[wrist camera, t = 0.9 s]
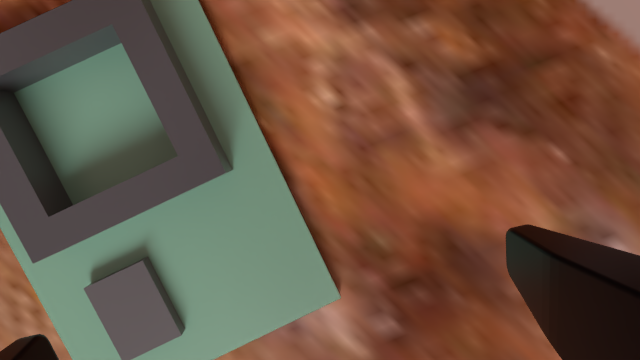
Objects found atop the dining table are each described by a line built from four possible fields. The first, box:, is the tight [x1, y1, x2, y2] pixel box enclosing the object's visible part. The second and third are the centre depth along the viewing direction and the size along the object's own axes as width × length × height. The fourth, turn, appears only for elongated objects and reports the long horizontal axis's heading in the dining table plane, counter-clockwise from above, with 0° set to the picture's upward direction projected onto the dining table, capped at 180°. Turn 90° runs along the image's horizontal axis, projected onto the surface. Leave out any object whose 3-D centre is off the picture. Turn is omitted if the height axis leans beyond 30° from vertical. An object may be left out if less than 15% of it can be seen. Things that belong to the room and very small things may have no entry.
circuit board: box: [0, 0, 341, 360], centre depth 21 cm, size 17×13×3 cm
